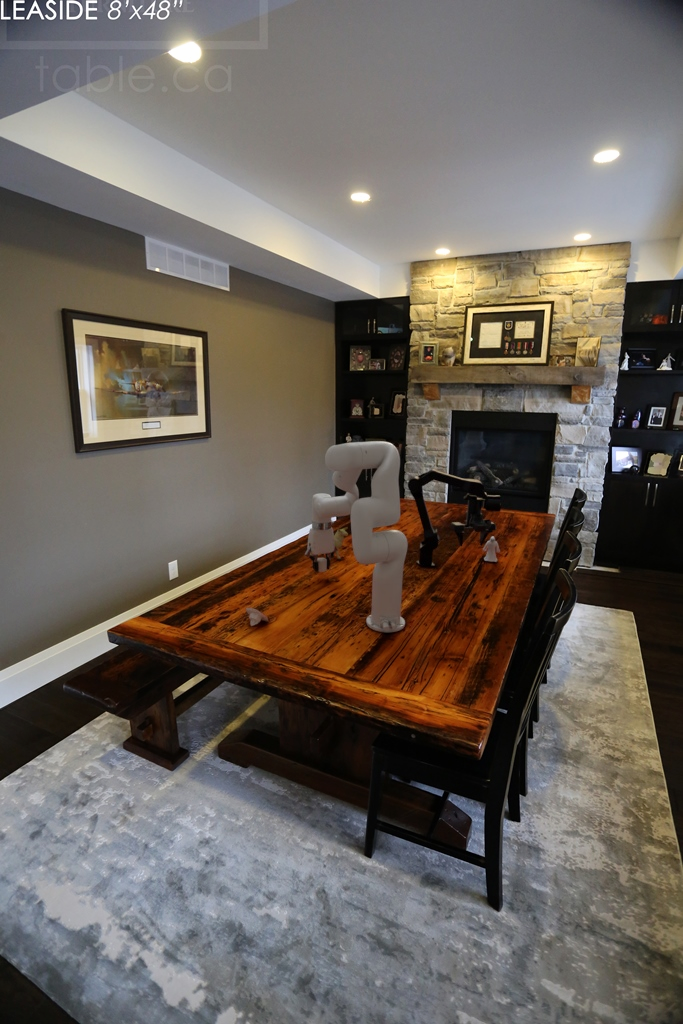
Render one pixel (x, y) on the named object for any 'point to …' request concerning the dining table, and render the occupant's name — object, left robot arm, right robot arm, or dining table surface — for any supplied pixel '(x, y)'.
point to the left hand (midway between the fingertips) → (321, 568)
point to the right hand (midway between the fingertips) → (471, 545)
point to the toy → (338, 540)
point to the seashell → (255, 616)
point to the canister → (322, 564)
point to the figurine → (491, 550)
